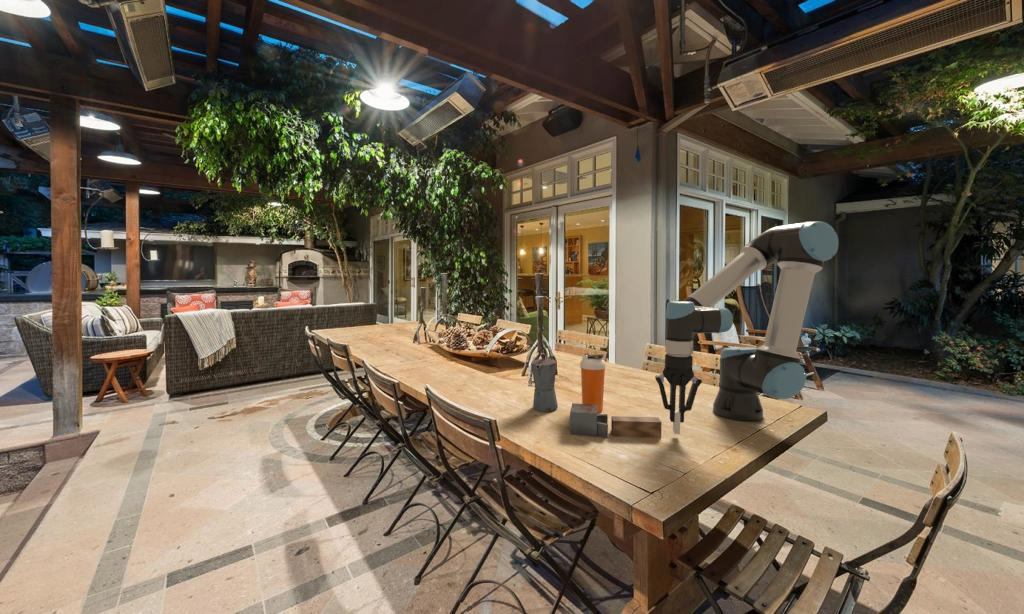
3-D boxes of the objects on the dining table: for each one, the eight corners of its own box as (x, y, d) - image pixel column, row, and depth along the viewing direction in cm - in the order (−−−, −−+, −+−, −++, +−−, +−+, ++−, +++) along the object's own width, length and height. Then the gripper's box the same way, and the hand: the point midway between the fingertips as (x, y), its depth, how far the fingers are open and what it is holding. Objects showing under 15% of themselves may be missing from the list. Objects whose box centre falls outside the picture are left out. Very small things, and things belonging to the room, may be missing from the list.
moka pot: (525, 412, 143) (525, 357, 141) (539, 400, 157) (539, 349, 156) (551, 416, 139) (551, 359, 138) (563, 402, 154) (563, 350, 152)
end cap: (607, 426, 130) (607, 404, 129) (607, 438, 121) (607, 415, 120) (572, 423, 133) (572, 402, 132) (569, 434, 123) (570, 412, 123)
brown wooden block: (657, 433, 125) (658, 417, 124) (661, 438, 121) (661, 422, 120) (611, 431, 126) (611, 416, 126) (613, 437, 122) (613, 420, 122)
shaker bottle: (605, 414, 140) (606, 357, 139) (579, 413, 142) (579, 357, 140) (604, 406, 149) (605, 352, 147) (580, 405, 151) (580, 352, 149)
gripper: (699, 352, 121) (697, 429, 123) (653, 350, 124) (651, 426, 126) (705, 357, 114) (702, 439, 116) (656, 355, 117) (654, 435, 119)
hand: (676, 432), depth 121 cm, fingers closed
